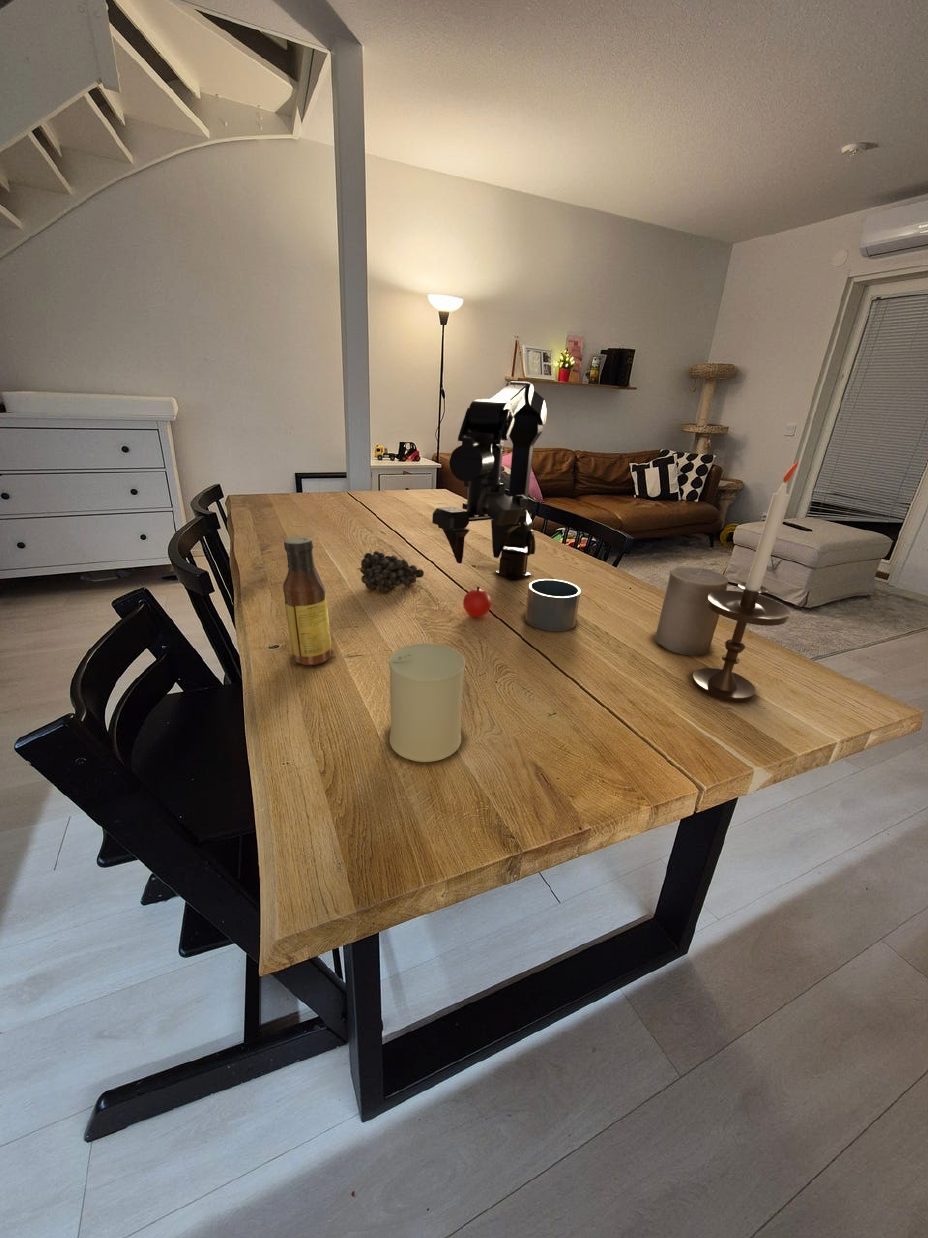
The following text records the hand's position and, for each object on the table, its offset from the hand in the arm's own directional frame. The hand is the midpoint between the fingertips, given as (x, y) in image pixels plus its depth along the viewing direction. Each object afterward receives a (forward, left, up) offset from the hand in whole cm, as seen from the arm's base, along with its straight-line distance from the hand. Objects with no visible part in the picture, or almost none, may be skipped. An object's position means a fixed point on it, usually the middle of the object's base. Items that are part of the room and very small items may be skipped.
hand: (478, 560), depth 96 cm
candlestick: (-15, +43, -12) cm, 47 cm away
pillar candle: (-24, +31, -12) cm, 41 cm away
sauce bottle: (+34, -2, -12) cm, 36 cm away
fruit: (+6, -22, -12) cm, 25 cm away
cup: (-11, +10, -12) cm, 19 cm away
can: (+31, +26, -12) cm, 42 cm away
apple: (0, 0, -12) cm, 12 cm away
